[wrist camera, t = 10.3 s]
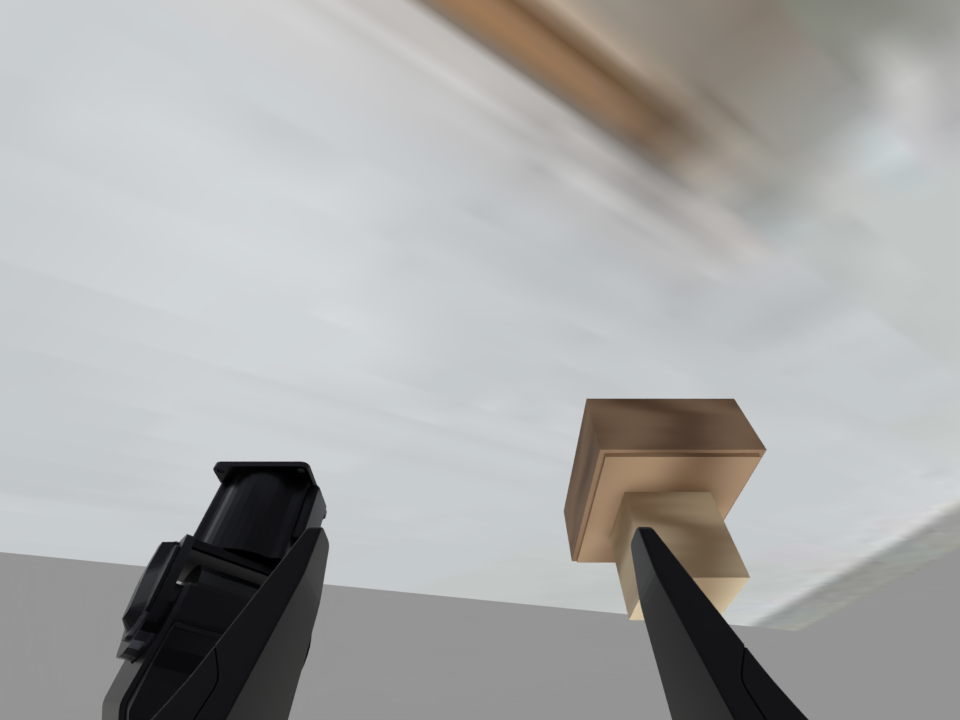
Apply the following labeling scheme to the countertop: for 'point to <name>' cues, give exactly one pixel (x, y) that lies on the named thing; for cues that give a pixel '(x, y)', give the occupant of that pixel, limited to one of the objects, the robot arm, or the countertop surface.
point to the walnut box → (653, 461)
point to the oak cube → (680, 543)
